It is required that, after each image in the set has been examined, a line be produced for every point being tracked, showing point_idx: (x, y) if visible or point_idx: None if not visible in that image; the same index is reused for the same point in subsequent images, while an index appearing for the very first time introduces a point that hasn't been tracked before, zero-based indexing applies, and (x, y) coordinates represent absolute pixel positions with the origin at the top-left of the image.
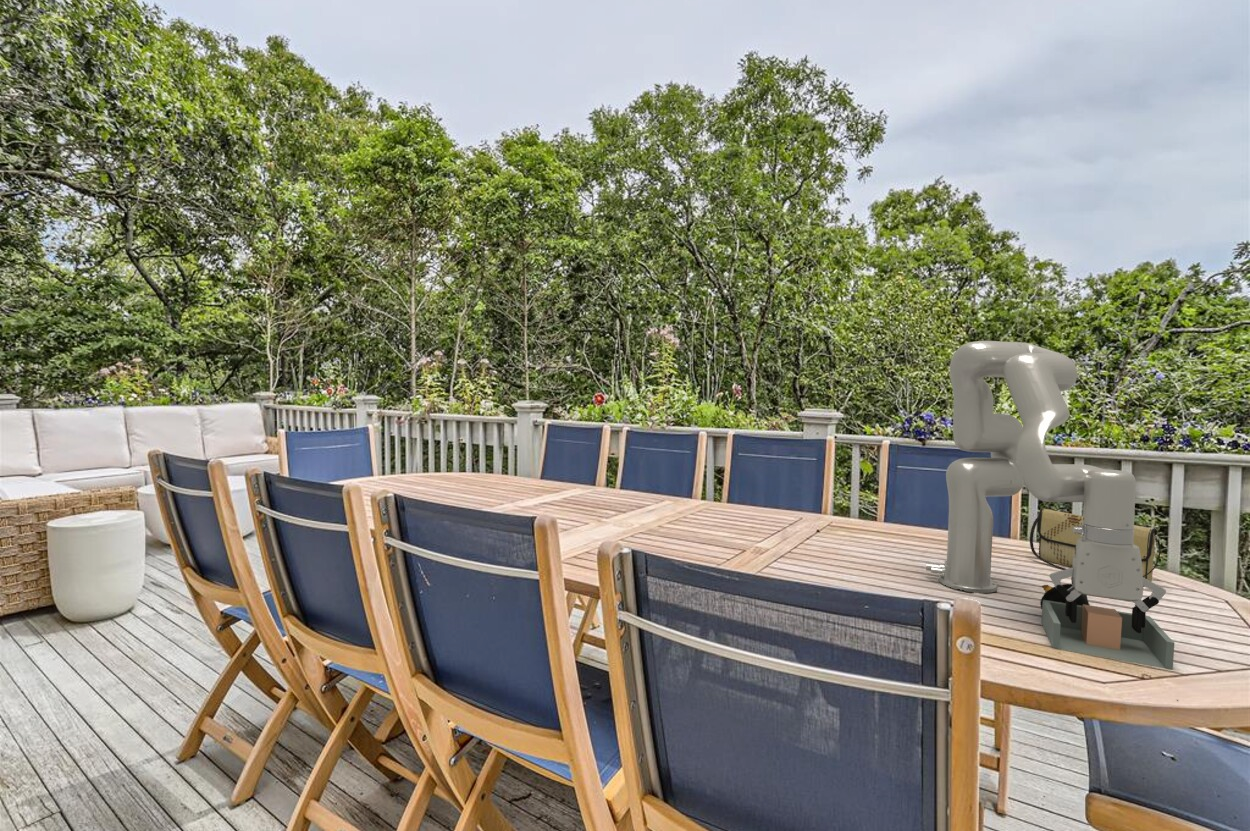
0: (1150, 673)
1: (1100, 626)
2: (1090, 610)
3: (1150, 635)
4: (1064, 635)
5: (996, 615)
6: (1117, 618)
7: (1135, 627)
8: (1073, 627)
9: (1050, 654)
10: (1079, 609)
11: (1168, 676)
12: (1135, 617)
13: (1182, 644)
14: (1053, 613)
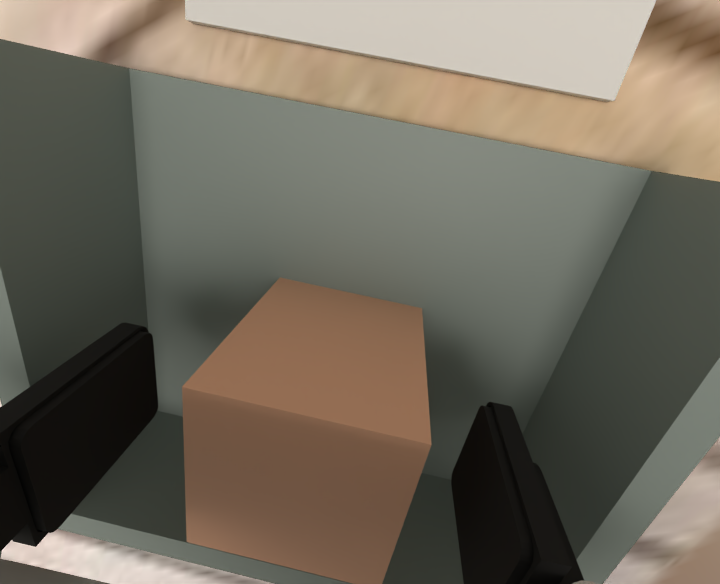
0: (219, 30)
1: (350, 357)
2: (384, 493)
3: None
4: (484, 388)
5: (653, 563)
6: (219, 387)
7: (136, 359)
8: None
9: (708, 131)
10: None
11: (140, 22)
12: (81, 415)
13: None
14: (662, 461)
